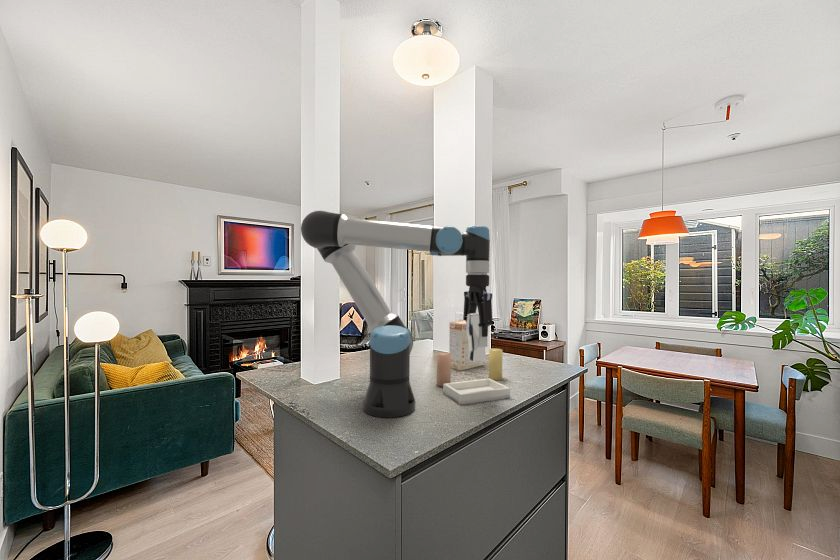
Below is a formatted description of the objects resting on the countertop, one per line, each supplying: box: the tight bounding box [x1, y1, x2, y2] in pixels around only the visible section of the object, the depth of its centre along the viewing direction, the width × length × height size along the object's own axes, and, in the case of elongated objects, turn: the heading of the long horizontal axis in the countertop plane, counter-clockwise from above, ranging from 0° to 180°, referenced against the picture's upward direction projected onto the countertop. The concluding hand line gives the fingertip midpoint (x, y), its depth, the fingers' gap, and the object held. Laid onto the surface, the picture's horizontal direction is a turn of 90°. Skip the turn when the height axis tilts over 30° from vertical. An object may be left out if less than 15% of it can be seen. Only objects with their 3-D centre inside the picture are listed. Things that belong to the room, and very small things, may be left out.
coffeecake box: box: [448, 320, 485, 371], centre depth 159 cm, size 15×7×20 cm, turn 130°
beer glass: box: [466, 312, 487, 362], centre depth 121 cm, size 7×7×15 cm
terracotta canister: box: [435, 351, 452, 388], centre depth 132 cm, size 5×5×11 cm
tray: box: [442, 377, 511, 405], centre depth 122 cm, size 18×12×3 cm, turn 113°
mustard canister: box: [488, 347, 504, 381], centre depth 141 cm, size 5×5×11 cm
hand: (476, 344), depth 121 cm, fingers closed on beer glass, 7 cm apart
